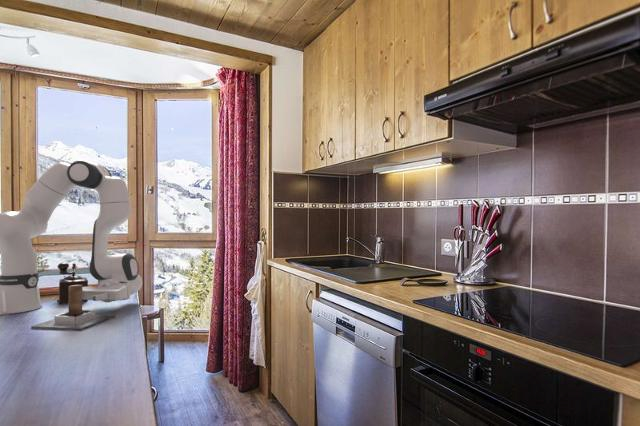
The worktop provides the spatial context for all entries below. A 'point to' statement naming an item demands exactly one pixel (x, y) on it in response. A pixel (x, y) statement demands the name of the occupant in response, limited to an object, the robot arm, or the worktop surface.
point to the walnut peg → (75, 300)
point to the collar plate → (73, 321)
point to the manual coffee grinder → (69, 282)
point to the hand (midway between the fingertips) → (82, 298)
